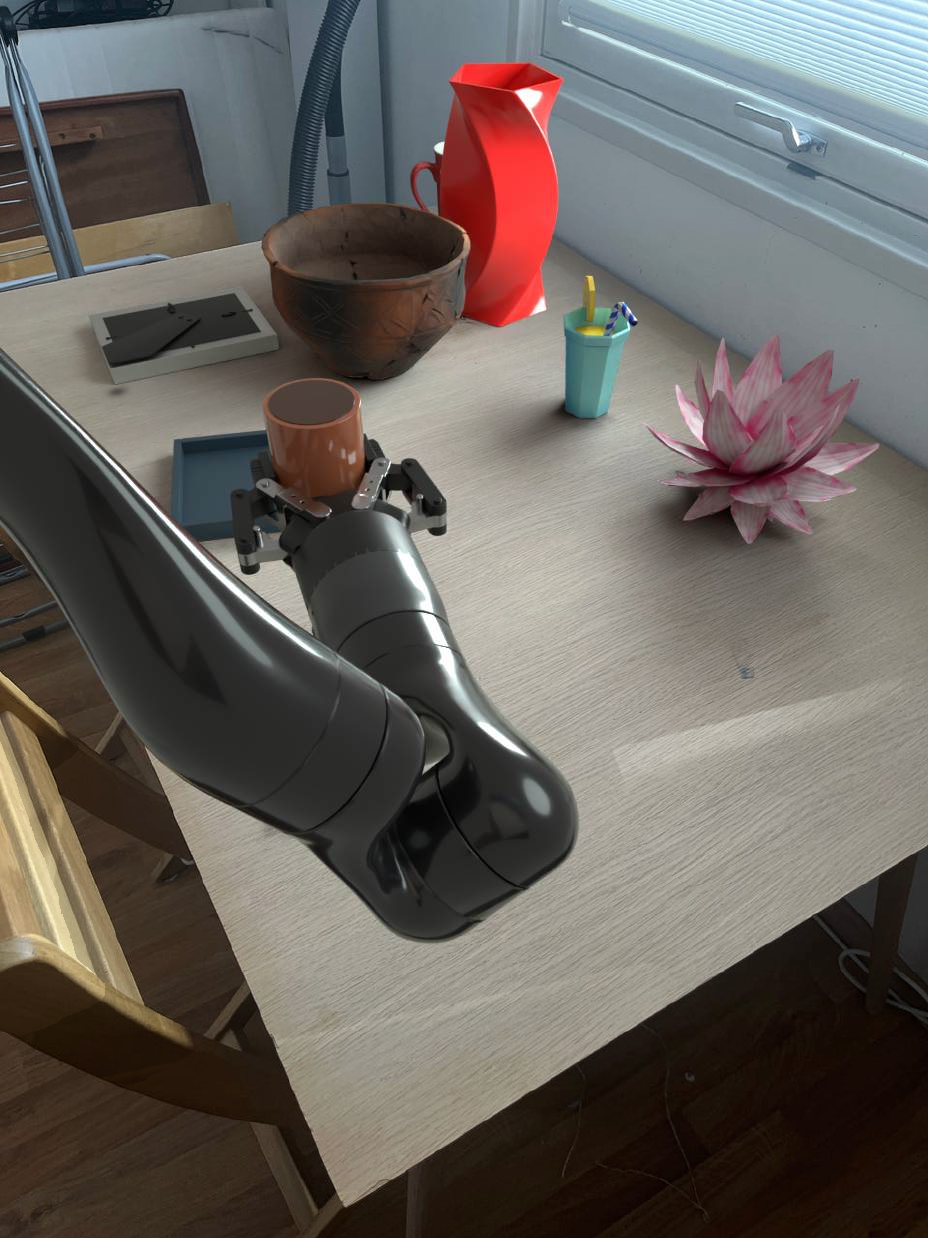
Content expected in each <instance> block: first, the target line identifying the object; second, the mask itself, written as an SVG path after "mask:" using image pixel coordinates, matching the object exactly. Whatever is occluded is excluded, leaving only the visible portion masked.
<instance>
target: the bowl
mask: <svg viewBox="0 0 928 1238" xmlns="http://www.w3.org/2000/svg"><path fill="white" fill-rule="evenodd" d="M260 245H261V247H260V248H261V250H262V253H263V256H264V258H265V260H266V261H267V263H268V264H269V276H270V277H269V278H270V283H271V296H272V297H271V298H272V301H273V304H274V306H275V308H276V310H277V312H278V314H279V316H280V317H281V319H283V321H284V323H285V324H286V325H287V326H288V327H289V329H290V330H291V331H292V332H293V333H295V335H297V336H298V338H300V339H301V340H302V341H303V342H304V343H305V344H306V345H307V346H308V347H309V348H310V349H311V350H312V351H313V352H314V353H315V354H316V355H317V356H318V357H319V358H320V360H322V362H323V363H324V364H325V366H326V367H327V368H328V369H329V370H331V371H332V372H334V373H337V374H338V375H342V376H344V377H347V378H365V377H366V378H368V379H369V380H377V381H380V380H383V379H388V378H391V377H395V376H398V375H400V374H402V373H404V372H407V371H408V370H410V369H411V368H412V367H414V366H415V365H416V364H417V363H418V362H419V361H420V360H421V358H423V357H424V356H425V355H426V354H427V353H428V352H430V351H431V349H432V348H433V347H435V346H436V344H438V342H439V341H440V340H441V339H442V338H444V336H445V335H446V334H447V333H448V332H449V331H450V330H451V329H452V328H453V327H454V326H455V325H456V324H457V323H458V321H459V320H460V318H461V316H462V315H461V313H462V311H463V310H464V304H465V293H466V291H465V285H464V274H465V266H466V259H467V256H468V254H469V251H470V240H469V237H468V235H467V232H466V231H465V230H464V229H463V228H461V227H460V226H459V225H457V224H454V223H453V222H452V221H450V220H447V219H445V218H443V217H440V216H438V214H435V213H433V212H431V211H430V212H428V211H425V210H421V208H418V207H413V206H407V205H403V204H395V203H387V202H346V203H339V204H333V205H327V206H321V207H317V208H312V209H307V210H306V209H305V210H302V211H301V212H297V213H294V214H293V213H292V214H291V215H288V216H286V217H283V218H281V219H280V220H278V222H276V223H274V224H273V225H272V226H270V227H269V228H268V229H267V230H266V231H265V233H264V234H263V236H262V237H261V243H260Z"/></svg>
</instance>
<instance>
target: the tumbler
mask: <svg viewBox="0 0 928 1238" xmlns="http://www.w3.org/2000/svg"><path fill="white" fill-rule="evenodd" d="M261 406H262V408H261V409H262V414H263V415H262V416H263V420H264V426H265V430H266V433H267V439H268V446H269V452H270V458H271V464H272V467H273V469H274V472H275V475H276V480H277V483H278V484H280V485H281V486H283V487H284V488H286V489H288V488H289V487H293V488H295V489H297V490H298V491H300V492H301V493H303V494H305V495H306V496H308V497H309V498H312V497H317V496H332V495H336V494H338V493H341V492H344V491H349V490H354V489H355V490H356V492H358V490H359V487H360V485H361V483H362V480H363V478H364V475H365V473H366V462H365V448H364V435H363V434H364V425H363V424H364V423H363V411H362V409H363V408H362V399H361V396H360V394H359V392H358V391H357V390H356V389H355V388H353V387H352V386H351V385H349V384H347V383H345V382H343V381H340V380H336V379H331V378H322V377H321V378H320V377H310V378H301V379H296V380H292V381H289V382H285V383H283V384H281V385H279V386H276V387H275V388H273V389H272V390H271V391H270V392H268V393H267V394H266V396H265V397H264V398H263V401H262V405H261ZM289 568H290V569H291V570H292V572H293V573H295V572H294V570H293V569H292V568H291V567H289Z"/></svg>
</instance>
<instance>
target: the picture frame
mask: <svg viewBox="0 0 928 1238" xmlns="http://www.w3.org/2000/svg"><path fill="white" fill-rule="evenodd" d="M88 319H89V323H90V326H91V328H92V331H93V334H94V336H95V339H96V341H97V344H98V346H99V348H100V351H101V354H102V356H103V358H104V361H105V364H106V366H107V368H108V369H107V370H108V371H109V372H110V376H111V378H112V381H113V383H114V385H119V384H124V383H128V382H135V381H139V380H143V379H148V378H153V377H157V376H161V375H165V374H171V373H176V372H180V371H185V370H189V369H194V368H199V367H205V366H209V365H213V364H218V363H222V362H227V361H232V360H237V359H241V358H242V359H243V358H246V357H251V356H255V355H260V354H265V353H269V352H273V351H279V350H280V346H279V340H278V334H277V333H276V331H275V330H274V328H273V327H272V326H271V324H270V323H269V321H268V320H267V318H266V317H265V316H264V314H263V313H262V312H261V310H260V309H259V308H258V306H257V305H256V303H255V302H254V300H253V299H252V298H251V295H249V293H248V292H247V291H246V289H245V288H244V287H243V286H237V287H233V288H232V287H231V288H227V289H221V290H216V291H209V292H205V293H200V294H194V295H188V296H183V297H177V298H172V299H168V300H163V301H156V302H151V303H146V304H141V305H136V306H135V305H134V306H130V307H124V308H120V309H113V310H109V311H103V312H97V313H92V314H88Z"/></svg>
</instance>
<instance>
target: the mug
mask: <svg viewBox="0 0 928 1238" xmlns="http://www.w3.org/2000/svg"><path fill="white" fill-rule="evenodd" d="M444 142H445V140H443V141H440V142H438V143H436V144H435V145H434V146H433V152H434V159H435V162H430V161H427V160H426V161H425V160H423V161H419V162H417V163H415V164H414V166H413V167H412V169H411V171H410V175H409V182H410V189H411V193H412V196H413V197H414V200H415V202H416V204H417V205H418V207H419V209H421V210H425V211H428V212H431V211H430V210H429V209H428V208H427V206H426V204H424V202H423V200H422V199H421V197H420V195H419V192H418V188H417V178H418V175H419V173H420V172H421V171H423V170H425V169H426V170H428V171H429V172H430V173H431V175H432V178H433V181H434V182H435V183H436V201H437V215H438V216H440V177H441V165H442V157H443V149H444Z"/></svg>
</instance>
